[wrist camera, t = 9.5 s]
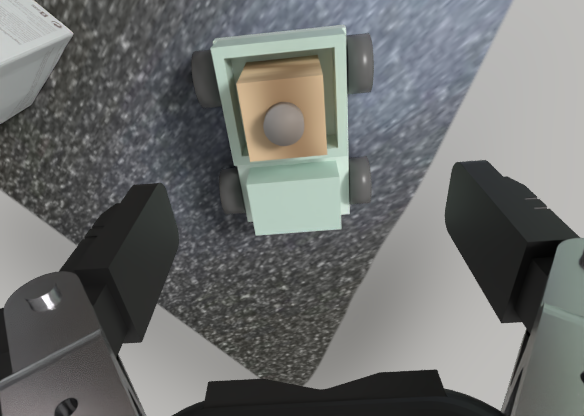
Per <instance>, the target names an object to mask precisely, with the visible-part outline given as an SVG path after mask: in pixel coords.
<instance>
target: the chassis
mask: <svg viewBox="0 0 584 416" xmlns="http://www.w3.org/2000/svg"><path fill="white" fill-rule="evenodd" d="M312 55H318V58H319V61H320V65H321V69H322V73H323V84H324V103H325V121H326V139H327V155H320V156H309V157H298V158H287V159H276V160H265V161H254V162H250V158H249V153H248V147H247V141H246V136H245V130H244V124H243V119H242V113H241V107H240V102H239V96H238V90H237V85H236V83H237V81H238V79H239V77H240V75H241V73H242V70H243V68H244V66H245V64H246V62H255V61H264V60H274V59H283V58H293V57H302V56H312ZM191 67H192V78H193V84H194V88H195V92H196V96H197V98H198V101H199V103H200V105H201V106H202V107H203V108H212V107H222V108H223V113H224V118H225V123H226V128H227V133H228V138H229V143H230V148H231V153H232V158H233V163H234V166H237V168H227V169H222V170H221V172H220V177H219V190H220V199H221V204H222V208H223V210H224V212H225V214H239V213H246V214H247V219H248V222H253V223H254V229H255V234H256V236H257V235H270V234H283V233H296V232H309V231H322V230H335V229H341V215H342V214H350V211H349V202H350V204H363V203H370V201H371V173H370V166H369V161H368V158H367V157H366V156H365V157H354V158H348V108H347V94H357V93H368V92H371V90H372V85H373V73H374V61H373V47H372V41H371V37H370V34H369V33H366V34H356V35H347V36H346V27H345V25H337V26H328V27H318V28H309V29H299V30H290V31H281V32H271V33H262V34H252V35H243V36H233V37H224V38H216V39H215V40H214V41H213V46H212V47H211V50H204V51H195V52H193V54H192V61H191Z"/></svg>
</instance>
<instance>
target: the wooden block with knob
mask: <svg viewBox="0 0 584 416" xmlns="http://www.w3.org/2000/svg"><path fill="white" fill-rule="evenodd" d="M236 85H237V90H238V96H239V102H240V107H241V113H242V119H243V124H244V130H245V136H246V141H247V147H248V153H249V158H250V162H254V161H265V160H276V159H287V158H298V157H309V156H320V155H327V139H326V121H325V103H324V84H323V73H322V69H321V65H320V61H319V58H318V55H312V56H302V57H293V58H283V59H274V60H264V61H255V62H246V64H245V66H244V68H243V70H242V73H241V75H240V77H239V79H238V81H237V83H236Z"/></svg>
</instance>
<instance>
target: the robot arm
mask: <svg viewBox="0 0 584 416" xmlns="http://www.w3.org/2000/svg"><path fill="white" fill-rule="evenodd" d="M445 223H446V228H447V231H448V233H449V234H450V236H451V238H452V240H453V242H454V243H455V245H456V247H457V248H458V250H459V252H460V253H461V255H462V257H463V259H464V260H465V262H466V264H467V265H468V267H469V269H470V270H471V272H472V274H473V275H474V277H475V279H476V281H477V282H478V284H479V286H480V287H481V289H482V291H483V293H484V294H485V296H486V298H487V299H488V301H489V303H490V305H491V306H492V308H493V310H494V311H495V313H496V315H497V316H498V318H499V320H500V321H501V323H513V322H523V324H524V325H525V327H526V328H527V329H526V331H525V334H524V337H523V340H522V343H521V346H520V349H519V353H518V356H517V359H516V363H515V366H514V369H513V373H512V376H511V379H510V383H509V387H508V390H507V393H506V396H505V399H504V403H503V405H502V408H501V411H499V410H498V409H496V408H494V407H492V406H490V405H488V404H486V403H485V402H483V401H481V400H478V399H476V398H473V397H471V396H468V395H466V394H463V393H460V392H456V391H453V390H449V389H444V388H443V385H442V382H441V379H440V377H439V374H438V371H437V370H420V371H400V372H381V373H377V374H374V375H370V376H367V377H364V378H361V379H358V380H354V381H351V382H348V383H345V384H341V385H338V386H335V387H332V388H328V389H323V390H319V389H313V388H308V387H303V386H298V385H293V384H288V383H283V382H278V381H273V380H268V379H249V380H231V381H211V382H208V386H207V391H206V397H205V401H202V402H199V403H196V404H194V405H192V406H189V407H187V408H185V409H183V410H181V411H179V412H178V413H176V414H174V415H172V416H584V238H580V237H579V236H578V235H577V234H576V233H575V232H574V231H572V230H571V229H570V228H569V227H568V226H567V225H566V224H565V223H564V222H563V221H562V220H561V219H560V218H559V217H558V216H557V215H555V213H554V212H553V211H551V210H550V209H547V206H546V205H545V204H544V203H543V202H542V201H541V200H540V199H537V196H536V195H535V194H533V192H531V191H530V190H529V189H528V188H527V187H526V186H525V185H523V184H521V183H519V182H517V181H515V180H513V179H511V178H509V177H503V176H502V175H501V174H500V173H499V172H498V171H497V170H496V169H495V168H494V167H493V166H492V165H491V164H490V163H489V162H488V161H486V160H482V161H467V162H457V163H455V164H454V166H453V169H452V173H451V179H450V185H449V190H448V196H447V202H446V208H445ZM178 245H179V234H178V228H177V225H176V221H175V218H174V215H173V211H172V208H171V204H170V201H169V198H168V194H167V191H166V189H165V187H164V185H163V184H162V183H154V184H140V185H133V186H132V187H131V189H130V190H129V191H128V193H127V194H126V196H125V197H124V199H123V200H122V201H121V203H117V204H115V205H114V206H112V207H111V208H109V209H108V210H107V211H105V212H104V213H102V214H101V215H100V217H99V218H98V219H97V221H96V222H95V223H94V225H93V226H92V229H90V230H89V231H88V233H87V234H86V236H85V239H83V240H82V241H81V242H80V244H79V245H78V246H77V248H76V249H75V250H74V252H73V253H72V254H71V256H70V257H69V258H68V260H67V261H66V263H65V264H64V265H63V266H62V268H61V269H60V271H59V272H53V273H49V274H45V275H42V276H40V277H37V278H35V279H33V280H31V281H29V282H28V283H26V284H24V285H23V286H21V287H20V288H19V289H18V290H16V291H15V292H14V293H13V294H12V295H11V296H10V298H9V299H8V300H7V302H6V304H5V306H4V308H1V309H0V416H146V414H145V412H144V409H143V407H142V405H141V403H140V401H139V398H138V396H137V394H136V392H135V390H134V387H133V385H132V383H131V381H130V378H129V376H128V374H127V372H126V370H125V367H124V365H123V363H122V361H121V359H120V357H119V355H118V353H119V351H120V348H121V346H122V344H123V343H137V342H138V343H139V342H142V340H143V337H144V335H145V332H146V330H147V327H148V325H149V322H150V320H151V317H152V314H153V312H154V309H155V306H156V304H157V301H158V299H159V296H160V294H161V291H162V289H163V286H164V283H165V281H166V278H167V276H168V273H169V270H170V268H171V265H172V263H173V260H174V258H175V255H176V252H177V250H178Z"/></svg>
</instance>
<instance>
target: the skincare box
mask: <svg viewBox="0 0 584 416" xmlns="http://www.w3.org/2000/svg"><path fill="white" fill-rule="evenodd" d="M72 36H73V32H72V31H71V30H69V29H68V28H67V27H66V26H65V25H63V24H62V23H61V22H60V21H58V20H57V19H56V18H55V17H53V16H52V15H51V14H50V13H49V12H47V11H46V10H45V9H44V8H43V7H41V6H40V5H39V4H38V3H37V2H35V1H34V0H0V124H1V123H3V122H5V121H6V120H8V119H9V118H11V117H13V116H14V115H16V114H17V113H19V112H21V111H22V110H24V109H25V108H27V107H29V106H30V105H31V104H32V103H33V101H34V100H35V98H36V96H37V95H38V93H39V91H40V90H41V88H42V87H43V85H44V83H45V82H46V80H47V79H48V77H49V75H50V74H51V72H52V70H53V69H54V67H55V65H56V64H57V62H58V60H59V58H60V56H61V55H62V53H63V51H64V49H65V47H66V45H67V44H68V42H69V41H70V39H71V38H72Z"/></svg>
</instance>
